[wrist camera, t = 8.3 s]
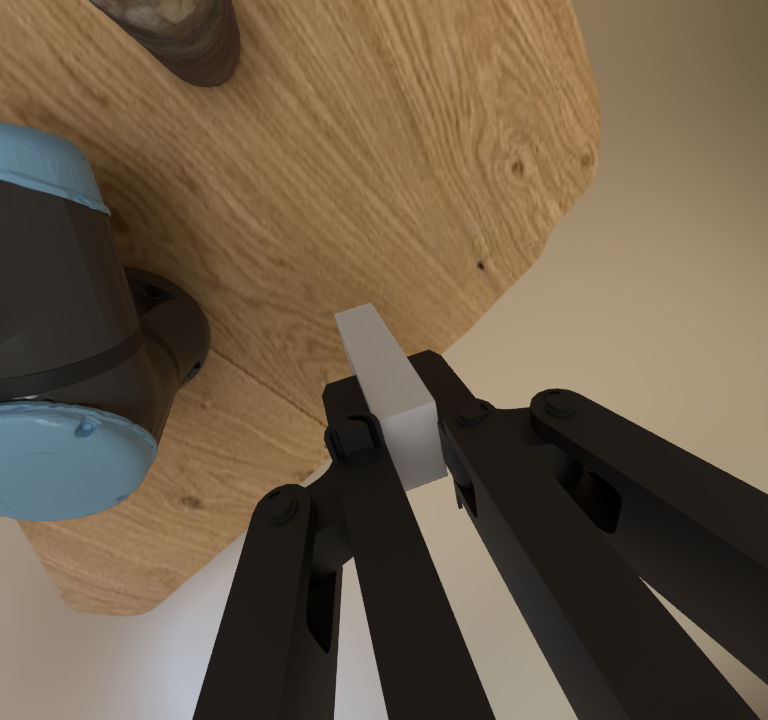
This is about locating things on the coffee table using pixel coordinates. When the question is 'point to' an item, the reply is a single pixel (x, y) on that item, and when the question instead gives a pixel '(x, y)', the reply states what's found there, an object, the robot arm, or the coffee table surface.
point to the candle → (182, 35)
